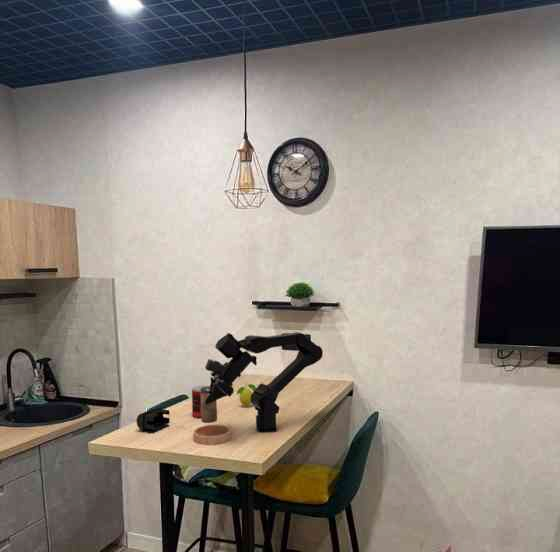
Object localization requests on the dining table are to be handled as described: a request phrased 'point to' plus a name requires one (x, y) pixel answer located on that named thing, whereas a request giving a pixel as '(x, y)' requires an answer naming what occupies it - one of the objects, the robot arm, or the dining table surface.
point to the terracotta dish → (212, 434)
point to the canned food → (196, 401)
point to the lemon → (245, 394)
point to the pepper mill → (208, 406)
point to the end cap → (153, 420)
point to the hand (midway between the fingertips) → (204, 401)
